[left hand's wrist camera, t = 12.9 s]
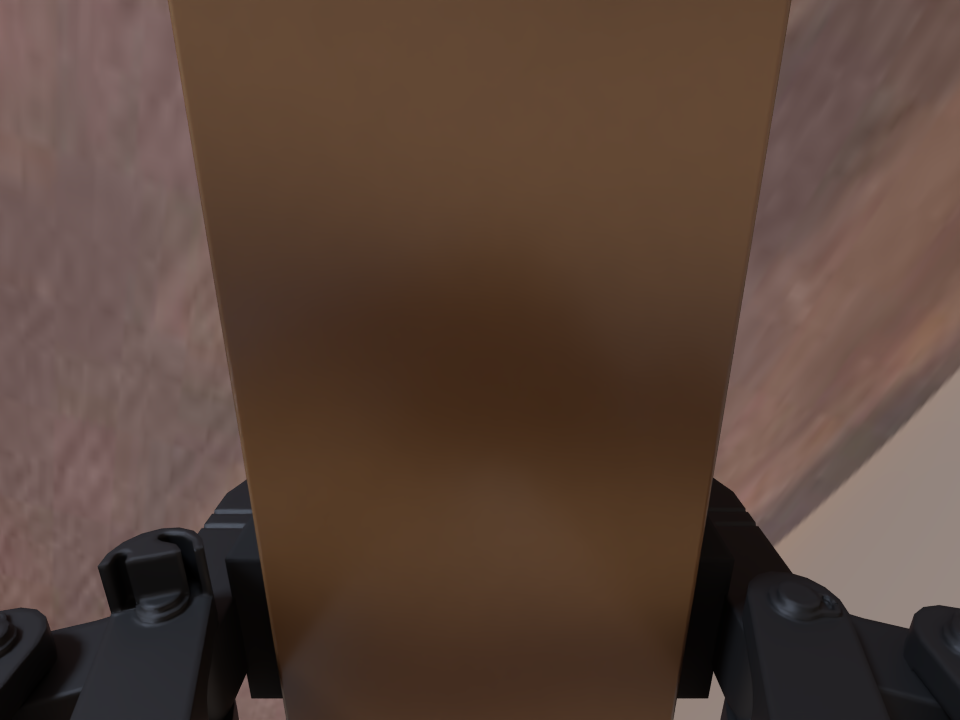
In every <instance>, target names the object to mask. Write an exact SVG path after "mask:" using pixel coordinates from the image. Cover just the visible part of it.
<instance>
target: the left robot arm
mask: <svg viewBox="0 0 960 720" xmlns="http://www.w3.org/2000/svg"><path fill="white" fill-rule="evenodd" d="M98 569H99V573H100V576H101V580H102V583H103V587H104V590H105V593H106V597H107V600H108V604H109V607H110V611H111V616H110V617H107V618H104V619H101V620H97V621H93V622H89V623H84V624H80V625H76V626H71V627H67V628H63V629H58V630H54V631H51V630H50V627H49V624H48V621H47V618H46V616H44V615H43V614H42V613H41V612H39V611H38V610H36V609H28V608H16V609H10V610H4V611H0V720H239V717H238V710H237V705H236V700H235V698H236V696H237V694H238V691H239V689H240V687H241V685H242V682H243V680H244V678H245V676H246V673H247V678H248V683H249V688H250V693H251V698H283V696H282V690H281V684H280V678H279V672H278V666H277V659H276V653H275V647H274V641H273V635H272V629H271V623H270V617H269V611H268V605H267V599H266V593H265V587H264V581H263V575H262V568H261V562H260V556H259V550H258V544H257V538H256V532H255V526H254V520H253V514H252V508H251V502H250V496H249V490H248V484H247V480H245V481H244V482H243V483H241V484H240V485H238V486H237V487H235V488H234V489H233V490H231V491H230V492H228V493H227V494H226V495H225V497H224V498H223V499H222V501H221V502H220V504H219V505H218V506H217V508H216V509H215V512H214V514H212V515H211V516H210V517H209V519H208V520H207V522H206V523H205V524H204V528H202V529H201V530H200V531H199V533H198V534H197V533H196V532H194V531H193V530H188V529H184V528H163V529H158V530H154V531H150V532H147V533H143V534H140V535H138V536H136V537H134V538H132V539H129V540H127V541H125V542H123V543H122V544H120V545H119V546H117V547H116V548H115V549H113V550H112V551H111V552H109V553H108V554H107V555H106V556H105V558H104V559H103V560H102V561H101V563H100V564H99V565H98ZM713 671H714V674H715V676H716V678H717V680H718V683H719V685H720V687H721V689H722V692H723V694H724V696H725V700H724V705H723V710H722V715H721V720H960V608H953V607H947V606H941V605H937V606H928V607H923V608H922V609H920V610H919V611H918V612H917V613H915V614H914V617H913V620H912V623H911V625H910V628H909V629H908V628H903V627H899V626H895V625H890V624H886V623H882V622H877V621H873V620H868V619H864V618H861V617H857V616H854V615H851V614H849V613H848V611H847V610H846V608H845V607H844V605H843V604H842V602H841V601H840V599H838V598H837V597H836V596H835V595H834V594H832V593H831V592H830V591H829V590H828V589H826V588H825V587H823V586H821V585H820V584H818V583H816V582H814V581H812V580H810V579H808V578H805V577H802V576H799V575H795V574H793V573H792V572H791V571H790V569H789V568H788V567H787V565H786V564H785V562H784V561H783V560H782V558H781V557H780V556H779V554H778V553H777V552H776V550H775V549H774V547H773V546H772V545H771V543H770V542H769V540H768V539H767V538H766V536H765V535H764V534H763V532H762V531H761V529H760V528H759V527H758V526H756V523H755V521H754V520H753V518H752V517H751V516H750V514H749V513H748V512H746V511H745V507H744V506H743V505H742V503H741V502H740V501H739V499H738V498H737V496H736V495H735V494H734V492H733V491H731V490H730V489H728V488H727V487H726V486H724V485H723V484H721V483H720V482H718V481H717V480H716V479H714V478H713V481H712V487H711V493H710V499H709V505H708V511H707V517H706V523H705V530H704V536H703V542H702V548H701V554H700V560H699V566H698V572H697V578H696V584H695V590H694V597H693V603H692V609H691V615H690V621H689V627H688V633H687V639H686V645H685V651H684V658H683V664H682V670H681V676H680V682H679V688H678V694H677V698H708V696H709V691H710V686H711V681H712V675H713Z"/></svg>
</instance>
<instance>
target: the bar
mask: <svg viewBox="0 0 960 720" xmlns="http://www.w3.org/2000/svg"><path fill="white" fill-rule="evenodd" d="M168 4H169V10H170V17H171V23H172V29H173V35H174V41H175V47H176V53H177V59H178V65H179V71H180V77H181V83H182V89H183V95H184V101H185V108H186V114H187V120H188V126H189V132H190V138H191V144H192V150H193V156H194V162H195V168H196V174H197V180H198V186H199V192H200V198H201V205H202V211H203V217H204V223H205V229H206V235H207V241H208V247H209V253H210V259H211V265H212V271H213V277H214V283H215V289H216V296H217V302H218V308H219V314H220V320H221V326H222V332H223V338H224V344H225V350H226V356H227V362H228V368H229V374H230V380H231V387H232V393H233V399H234V405H235V411H236V417H237V423H238V429H239V435H240V441H241V447H242V453H243V459H244V465H245V471H246V477H247V484H248V490H249V496H250V502H251V508H252V514H253V520H254V526H255V532H256V538H257V544H258V550H259V556H260V562H261V568H262V575H263V581H264V587H265V593H266V599H267V605H268V611H269V617H270V623H271V629H272V635H273V641H274V647H275V653H276V659H277V666H278V672H279V678H280V684H281V690H282V696H283V702H284V708H285V714H286V720H673V718H674V712H675V706H676V700H677V694H678V688H679V682H680V676H681V670H682V664H683V658H684V651H685V645H686V639H687V633H688V627H689V621H690V615H691V609H692V603H693V597H694V590H695V584H696V578H697V572H698V566H699V560H700V554H701V548H702V542H703V536H704V530H705V523H706V517H707V511H708V505H709V499H710V493H711V487H712V481H713V475H714V469H715V462H716V456H717V450H718V444H719V438H720V432H721V426H722V420H723V414H724V408H725V401H726V395H727V389H728V383H729V377H730V371H731V365H732V359H733V353H734V347H735V340H736V334H737V328H738V322H739V316H740V310H741V304H742V298H743V292H744V286H745V280H746V273H747V267H748V261H749V255H750V249H751V243H752V237H753V231H754V225H755V219H756V212H757V206H758V200H759V194H760V188H761V182H762V176H763V170H764V164H765V158H766V151H767V145H768V139H769V133H770V127H771V121H772V115H773V109H774V103H775V97H776V90H777V84H778V78H779V72H780V66H781V60H782V54H783V48H784V42H785V36H786V30H787V23H788V17H789V11H790V5H791V0H168Z"/></svg>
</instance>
